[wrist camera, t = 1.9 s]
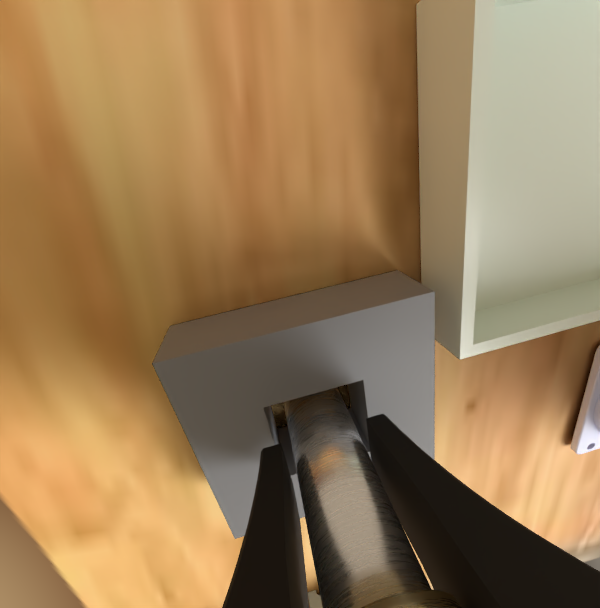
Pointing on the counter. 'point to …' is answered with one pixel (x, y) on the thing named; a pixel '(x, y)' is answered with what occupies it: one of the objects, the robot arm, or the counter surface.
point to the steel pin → (352, 514)
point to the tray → (509, 168)
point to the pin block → (299, 374)
